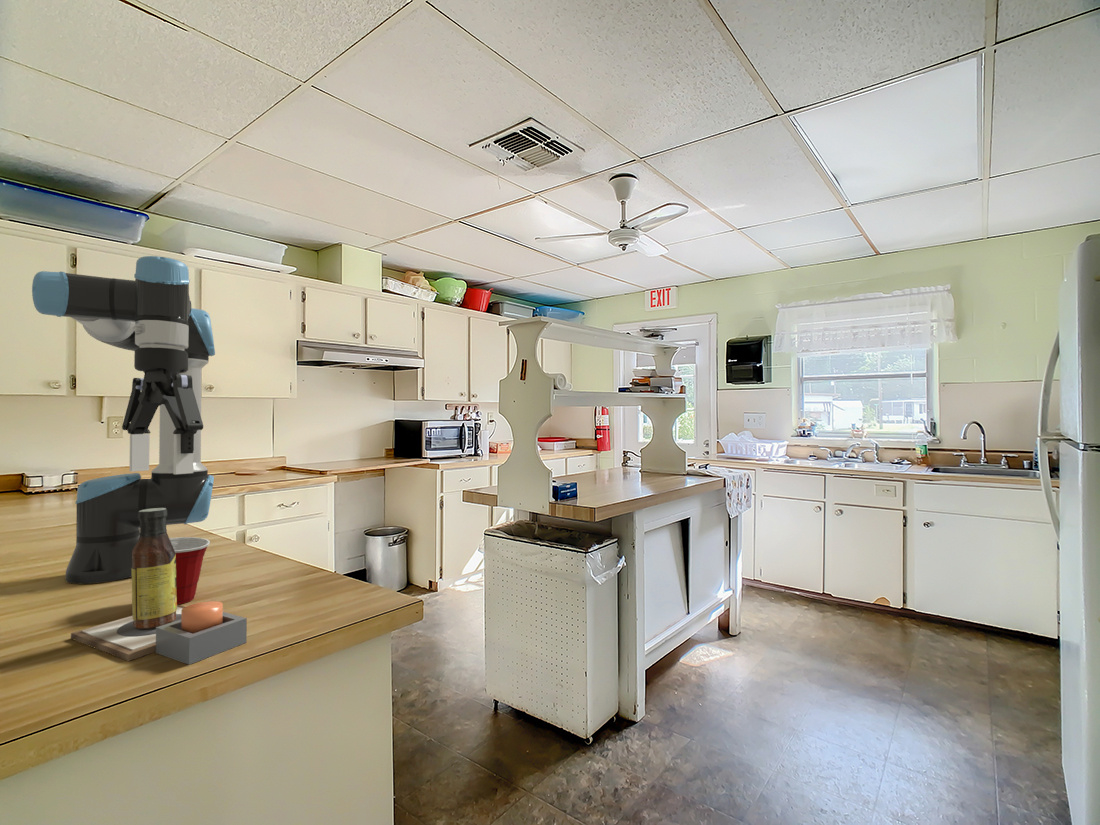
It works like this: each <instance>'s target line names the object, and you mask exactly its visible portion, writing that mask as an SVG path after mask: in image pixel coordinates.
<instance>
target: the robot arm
mask: <svg viewBox="0 0 1100 825" xmlns="http://www.w3.org/2000/svg"><path fill="white" fill-rule="evenodd" d="M135 264H136V265H135V273H134V279H135V280H134V279H133V280H132V279H131V280H130V279H124V278H115V277H111V278H110V277H102V276H97V275H96V276H94V275H86V274H77V273H69V272H65V271H45V270H43V271H41V270H40V271H38V272H36V274H34V277H33V279H32V286H31V287H32V288H31V293H32V295H31V296H32V297H31V298H32V301H33V302H32V303H33V305H34V308H35V310H36V311H37V312H38V313H40V314H42V315H48V316H55V317H58V318H62V317H64V318H65V317H69V318H71V319H73V320H74V321H76V322H77V323H79V324H81V325H82V327H83V328H84V331H85V332H87V335H89V336H91V337H92V338H93V339H95V340H96V341H99V342H101V343H104V344H107V345H110V346H112V347H115V348H118V349H123V350H128V351H132V352H134V354H133V355H134V360H133V361H134V365H133V367H134V369H135V370H136V371H137V372H138V371H139V372H143V373H144V374H143V378H141V377H133V378H132V385H131V392H130V395H129V396H130V397H129V400H128V404H127V408H126V410H125V414H124V419H123V422H122V426H121V429H122V430H123V431H127V434H129V472H130V473H123V474H116V475H109V476H103V477H99V478H98V477H97V478H92V479H88V480H85V481H83V482H81V483H80V484H79V485H78V487H77V491H76V501H75V504H76V520H75V522H76V523H75V524H76V526H75V527H76V530H75V531H76V533H75V534H76V536H75V537H76V540H75V541H76V542H75V548H74V550H73V552H72V555H71V558H70V559H69V562H68V565H67V567H66V570H65V582H67V583H70V584H82V585H83V584H96V583H97V584H98V583H107V582H112V581H119V580H123V579H124V580H125V579H128V578H132V570H131V568H132V550H133V548H134V546H135V545H136V544H137V542H138V540H139V537H140V534H139V533H140V520H139V518H138V511H140V510H145V509H152V508H166V509H167V517H166V526H171V525H173V526H174V525H180V524H183V525H187V524H193V523H200V522H204V521H206V519H207V518H208V515H209V513H210V506H211V501H212V495H213V486H214V480H215V476H214V475H211V474H209V475H208V471H209V470H208V468H207V466H205V465H204V464H203V463H202V462H201V459H202V454H201V453H202V448H201V447H202V443H201V442H202V431H203V429H204V423H203V420H202V370H203V368H204V367H205V366H206V365H208V364H209V358H210V357H212V356H215V355H216V350H215V342H214V336H213V334H214V333H213V328H212V327H213V326H212V321H211V320H212V319H211V317H210V313H208V312H207V311H206V310H203V309H199V308H192V301H191V298H190V294H189V293H190V280H191V279H190V278H189V277H190V275H189V267H188V265H187V264H186V263H185V262H182V261H180V260H177V259H175V258H171V257H165V256H156V255H146V256H141V257H139V258H138V259H137V260H136V263H135ZM158 408H159V431H158V432H159V435H158V437H159V440H158V441H159V444H158V445H159V447H158V448H159V449H158V450H159V451H158V456H159V458H158V460H159V461H158V462H159V463H158V465H157V466H155V468H153V469H152V470H151V475H150V476H151V477H150V478H142V475H141V474H140V473H139V472H144V471H146V472H147V471H150V435H151V431H150V428H149V427H150V425H151V423H152V420H154V416H155V414H156V412H157V410H158ZM131 472H133V473H131Z"/></svg>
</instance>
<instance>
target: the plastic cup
mask: <svg viewBox="0 0 1100 825" xmlns="http://www.w3.org/2000/svg"><path fill="white" fill-rule="evenodd" d="M169 539H170V541H171V544H172V546H173V548H174V550H175V553H176V592H177V605H182V604H186V603H189V602H191V601H193V600H195V596H196V595H197V594H196V592H197V587H198V582H199V580H200V576H201V570H202V565H203V561H204V557H205V553H206V551H207V548H208V547H209V545H210V544H211V541H210V540H209V539H207V538H204V537H203V538H202V537H195V536H194V537H193V536H187V537H186V536H182V537H181V536H179V537H178V536H177V537H169Z"/></svg>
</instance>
